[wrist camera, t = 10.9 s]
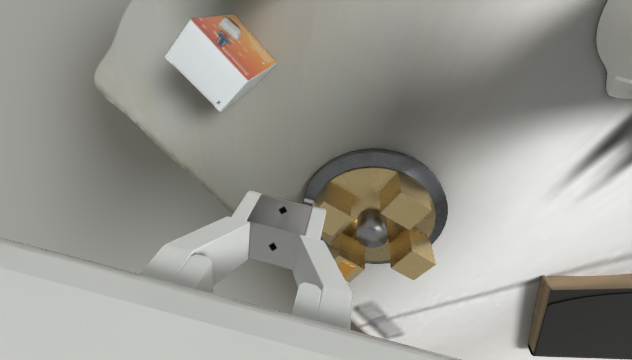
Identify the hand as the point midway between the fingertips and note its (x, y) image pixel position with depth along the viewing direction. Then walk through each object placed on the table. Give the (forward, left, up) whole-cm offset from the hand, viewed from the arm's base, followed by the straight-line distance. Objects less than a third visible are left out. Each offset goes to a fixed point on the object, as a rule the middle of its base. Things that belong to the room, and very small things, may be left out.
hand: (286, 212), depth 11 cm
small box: (+14, +2, -31) cm, 34 cm away
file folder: (-63, +31, -32) cm, 77 cm away
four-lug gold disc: (-10, +23, -29) cm, 39 cm away
